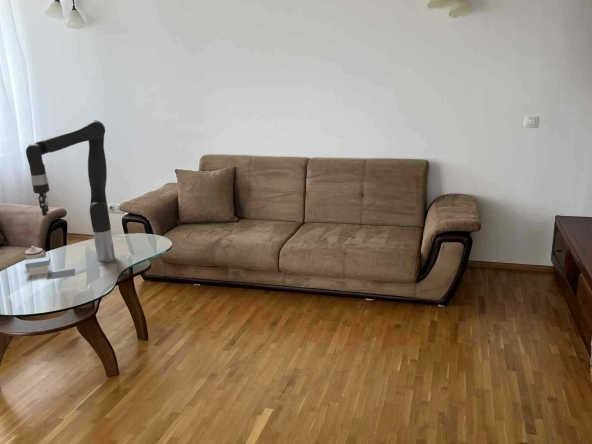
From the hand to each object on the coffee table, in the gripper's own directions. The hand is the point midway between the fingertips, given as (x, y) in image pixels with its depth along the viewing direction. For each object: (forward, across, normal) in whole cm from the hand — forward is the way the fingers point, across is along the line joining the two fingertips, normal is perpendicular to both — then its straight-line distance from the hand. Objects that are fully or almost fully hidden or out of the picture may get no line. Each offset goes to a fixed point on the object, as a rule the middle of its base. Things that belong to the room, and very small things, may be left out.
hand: (45, 213), depth 289 cm
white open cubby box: (+30, -7, +7) cm, 32 cm away
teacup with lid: (+30, +7, +9) cm, 32 cm away
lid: (+25, -7, +7) cm, 27 cm away
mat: (+30, -15, -4) cm, 34 cm away
